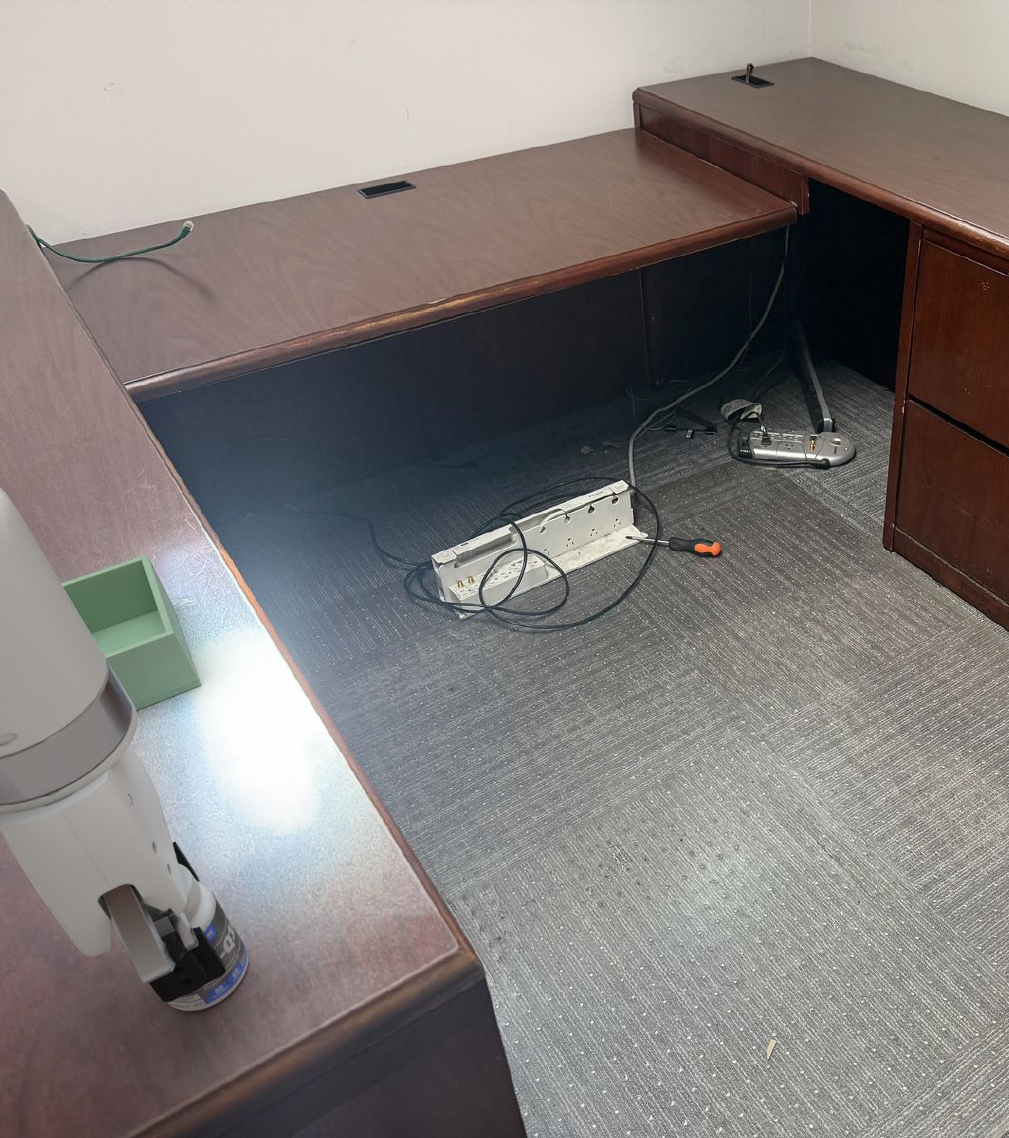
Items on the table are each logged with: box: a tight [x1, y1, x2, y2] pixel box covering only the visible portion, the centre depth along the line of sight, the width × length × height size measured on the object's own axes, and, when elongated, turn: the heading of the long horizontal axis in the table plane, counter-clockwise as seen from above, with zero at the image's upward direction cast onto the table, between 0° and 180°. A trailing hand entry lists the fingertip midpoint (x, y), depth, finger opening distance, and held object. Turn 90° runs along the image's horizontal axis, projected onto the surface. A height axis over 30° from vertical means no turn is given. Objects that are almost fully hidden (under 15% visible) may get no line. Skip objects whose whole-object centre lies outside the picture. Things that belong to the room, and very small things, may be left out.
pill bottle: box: [143, 864, 250, 1012], centre depth 58 cm, size 5×5×8 cm
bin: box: [61, 554, 202, 712], centre depth 79 cm, size 11×8×6 cm
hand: (182, 938), depth 58 cm, fingers open, 5 cm apart
